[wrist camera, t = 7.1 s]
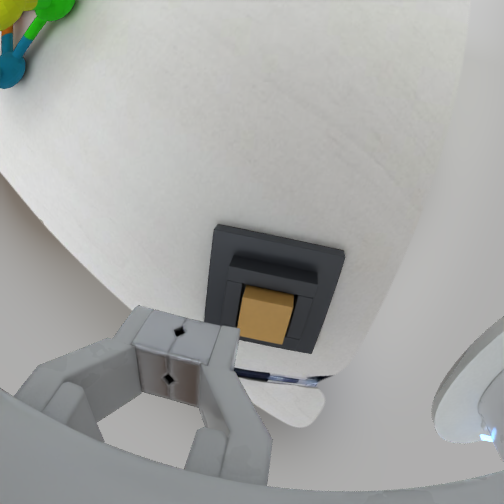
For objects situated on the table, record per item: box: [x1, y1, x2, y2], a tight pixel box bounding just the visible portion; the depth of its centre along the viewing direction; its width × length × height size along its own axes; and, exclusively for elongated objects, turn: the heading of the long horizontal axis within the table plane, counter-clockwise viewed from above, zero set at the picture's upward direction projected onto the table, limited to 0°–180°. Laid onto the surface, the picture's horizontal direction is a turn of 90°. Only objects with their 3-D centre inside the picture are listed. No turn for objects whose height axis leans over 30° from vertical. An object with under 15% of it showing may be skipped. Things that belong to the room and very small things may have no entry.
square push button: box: [204, 224, 345, 354], centre depth 25 cm, size 10×10×3 cm
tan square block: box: [237, 285, 294, 345], centre depth 23 cm, size 4×4×2 cm
